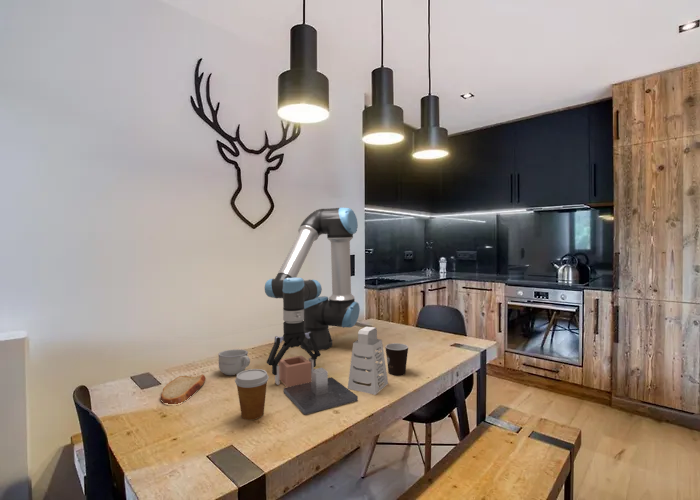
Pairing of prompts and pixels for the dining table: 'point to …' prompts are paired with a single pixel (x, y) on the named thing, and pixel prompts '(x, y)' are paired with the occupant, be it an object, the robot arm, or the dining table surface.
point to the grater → (367, 362)
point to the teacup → (233, 361)
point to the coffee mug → (396, 358)
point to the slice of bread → (181, 389)
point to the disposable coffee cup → (252, 392)
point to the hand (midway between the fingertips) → (294, 379)
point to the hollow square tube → (295, 371)
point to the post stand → (319, 393)
